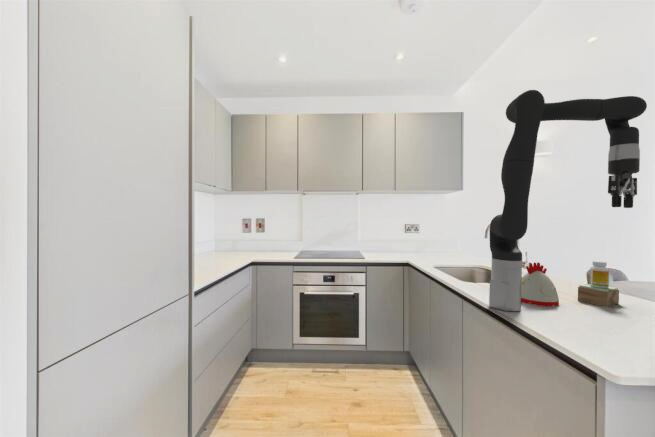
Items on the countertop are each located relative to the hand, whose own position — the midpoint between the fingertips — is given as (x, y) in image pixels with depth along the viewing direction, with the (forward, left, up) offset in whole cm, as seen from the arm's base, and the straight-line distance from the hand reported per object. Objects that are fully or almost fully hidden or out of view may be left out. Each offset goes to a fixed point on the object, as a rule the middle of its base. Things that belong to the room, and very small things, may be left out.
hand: (622, 207), depth 100 cm
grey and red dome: (-10, +21, -36) cm, 43 cm away
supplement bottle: (+12, +10, -30) cm, 34 cm away
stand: (+11, +10, -36) cm, 39 cm away
